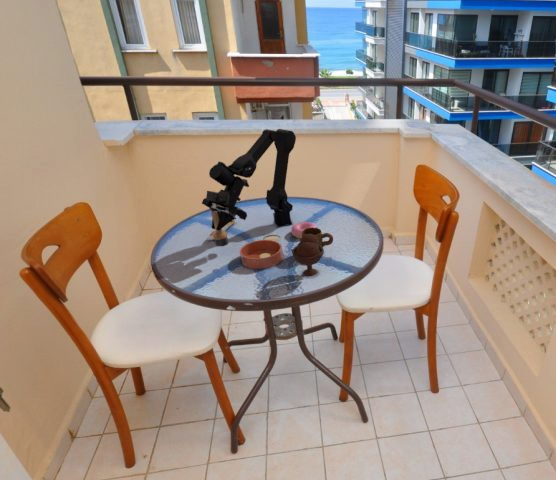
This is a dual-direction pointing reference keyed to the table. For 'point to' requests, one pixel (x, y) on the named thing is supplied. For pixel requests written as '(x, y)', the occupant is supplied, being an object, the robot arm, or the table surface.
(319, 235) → the mug
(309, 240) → the ice cream bowl
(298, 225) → the doughnut
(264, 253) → the biscuit piece
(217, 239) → the dish brush
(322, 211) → the table surface
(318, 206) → the table surface
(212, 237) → the paintbrush
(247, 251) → the terracotta bowl
